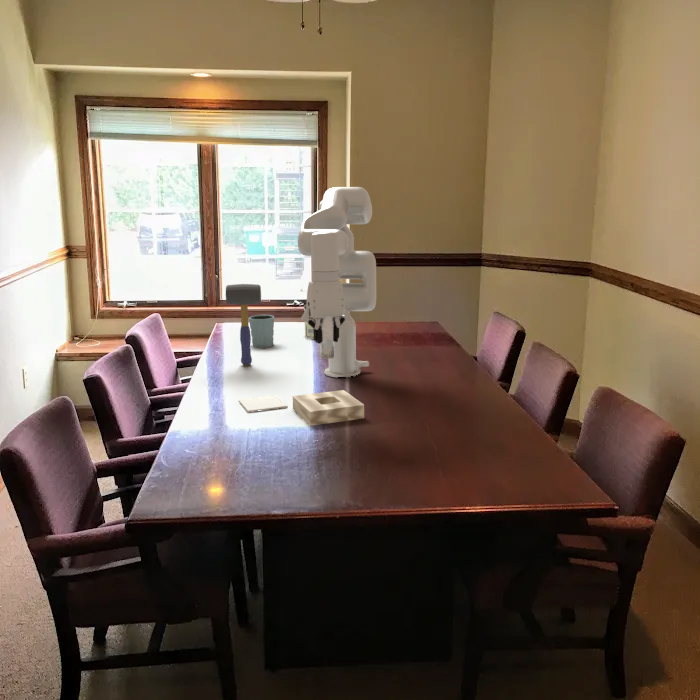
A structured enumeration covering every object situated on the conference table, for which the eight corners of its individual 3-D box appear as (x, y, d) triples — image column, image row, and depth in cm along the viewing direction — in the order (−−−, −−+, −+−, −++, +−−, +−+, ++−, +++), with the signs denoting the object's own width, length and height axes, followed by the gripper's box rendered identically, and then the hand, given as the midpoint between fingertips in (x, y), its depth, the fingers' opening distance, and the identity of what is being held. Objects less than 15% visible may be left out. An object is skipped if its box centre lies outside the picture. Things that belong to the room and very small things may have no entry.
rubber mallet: (264, 362, 263) (261, 282, 256) (263, 367, 256) (259, 285, 249) (230, 363, 262) (226, 282, 256) (228, 368, 255) (224, 285, 248)
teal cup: (279, 344, 293) (278, 316, 290) (264, 349, 284) (263, 320, 282) (260, 341, 298) (259, 313, 295) (245, 346, 290) (243, 317, 287)
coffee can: (328, 334, 312) (328, 302, 309) (327, 339, 302) (327, 306, 299) (305, 334, 312) (304, 303, 309) (303, 339, 302) (302, 306, 299)
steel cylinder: (331, 354, 202) (330, 313, 199) (336, 357, 198) (336, 315, 195) (316, 356, 201) (315, 314, 198) (322, 359, 197) (321, 316, 194)
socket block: (343, 402, 213) (343, 390, 212) (364, 418, 199) (364, 404, 198) (292, 409, 207) (292, 396, 207) (310, 425, 193) (310, 411, 192)
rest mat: (276, 396, 220) (276, 395, 220) (287, 407, 209) (287, 405, 209) (238, 401, 215) (238, 399, 215) (247, 412, 205) (247, 410, 204)
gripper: (348, 274, 201) (349, 336, 205) (292, 277, 195) (293, 341, 199) (358, 276, 194) (359, 341, 198) (300, 280, 188) (302, 347, 192)
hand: (326, 341), depth 198 cm, fingers closed on steel cylinder, 4 cm apart
